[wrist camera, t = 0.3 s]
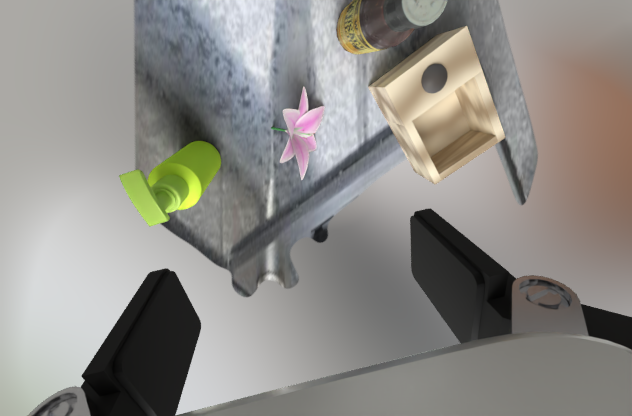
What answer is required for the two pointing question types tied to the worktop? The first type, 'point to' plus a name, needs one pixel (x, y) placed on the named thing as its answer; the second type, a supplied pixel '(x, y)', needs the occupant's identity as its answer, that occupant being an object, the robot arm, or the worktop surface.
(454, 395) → the robot arm
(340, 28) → the sauce bottle
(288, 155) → the lily
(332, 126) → the worktop surface
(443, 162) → the caddy
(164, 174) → the soap dispenser
